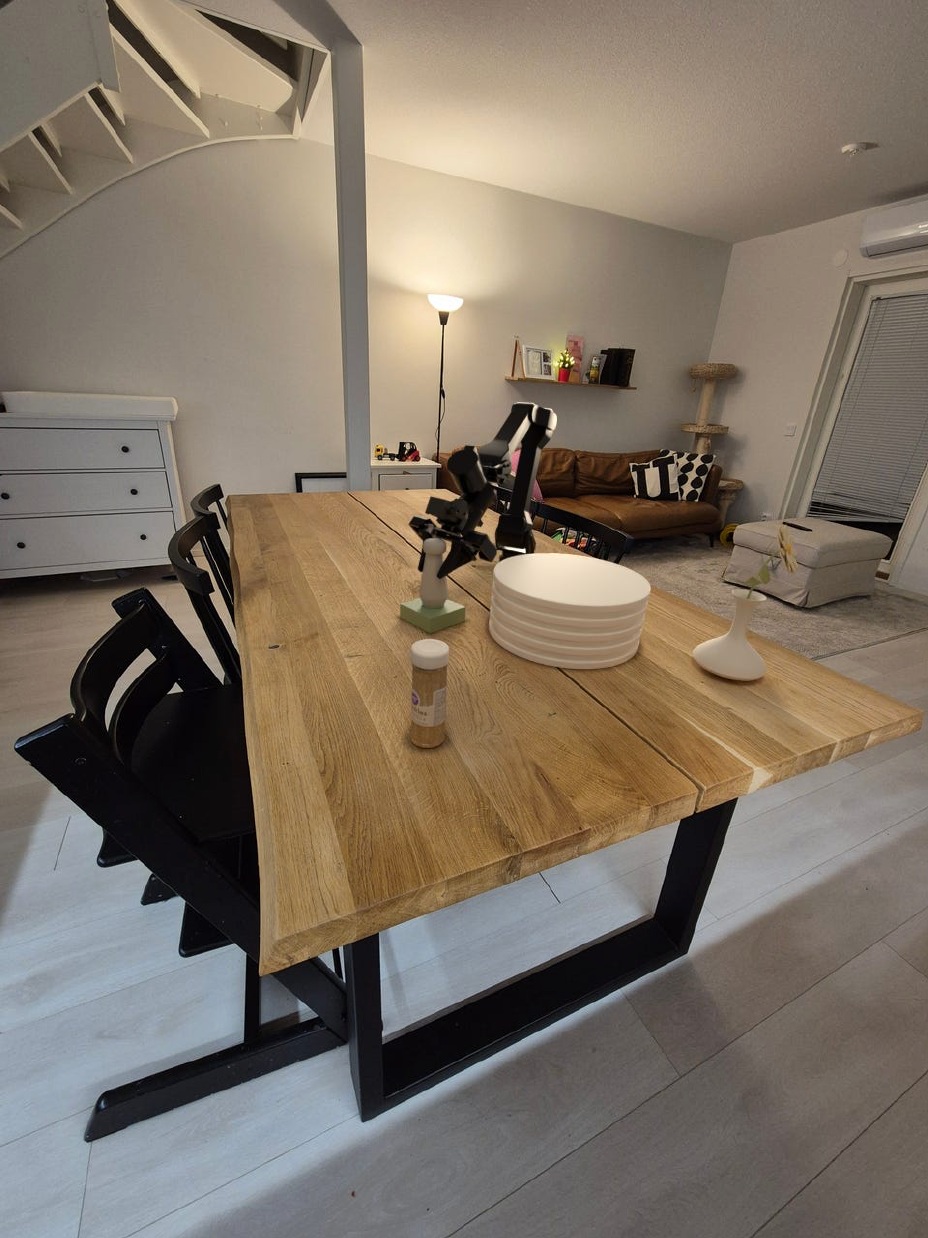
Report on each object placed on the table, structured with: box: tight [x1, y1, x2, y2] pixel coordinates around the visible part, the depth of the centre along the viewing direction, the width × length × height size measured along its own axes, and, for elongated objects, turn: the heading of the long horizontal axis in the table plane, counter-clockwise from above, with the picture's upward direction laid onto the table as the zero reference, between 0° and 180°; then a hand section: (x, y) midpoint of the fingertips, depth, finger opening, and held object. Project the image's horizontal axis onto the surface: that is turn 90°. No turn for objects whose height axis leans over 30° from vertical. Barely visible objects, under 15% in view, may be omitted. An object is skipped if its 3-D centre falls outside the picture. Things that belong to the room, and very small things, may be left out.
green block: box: [399, 597, 466, 634], centre depth 98 cm, size 9×9×3 cm
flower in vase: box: [692, 523, 799, 682], centre depth 81 cm, size 13×11×25 cm
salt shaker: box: [418, 538, 450, 609], centre depth 95 cm, size 6×6×13 cm
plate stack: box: [488, 552, 652, 670], centre depth 93 cm, size 28×28×12 cm
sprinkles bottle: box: [409, 638, 450, 749], centre depth 62 cm, size 5×5×14 cm
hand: (428, 574), depth 93 cm, fingers open, 5 cm apart
